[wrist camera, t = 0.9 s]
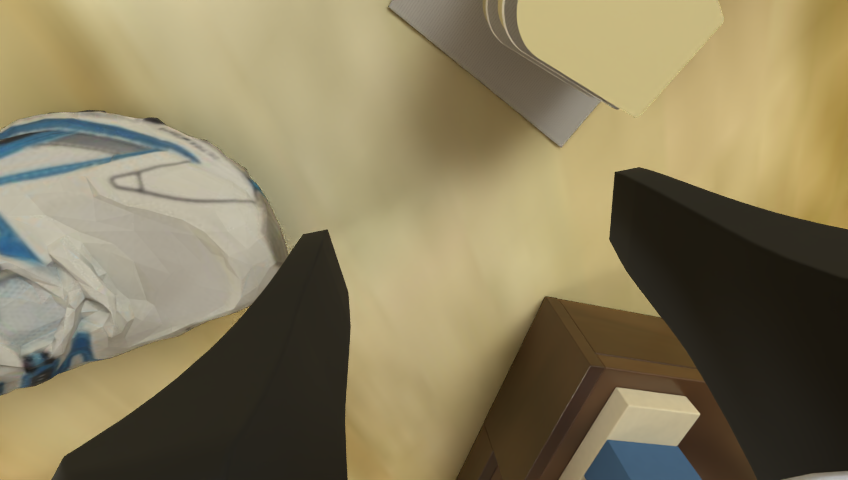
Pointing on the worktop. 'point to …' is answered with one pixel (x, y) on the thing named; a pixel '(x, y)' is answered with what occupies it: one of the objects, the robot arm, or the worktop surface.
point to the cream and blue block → (636, 439)
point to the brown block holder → (593, 394)
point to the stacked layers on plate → (567, 50)
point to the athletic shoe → (120, 239)
